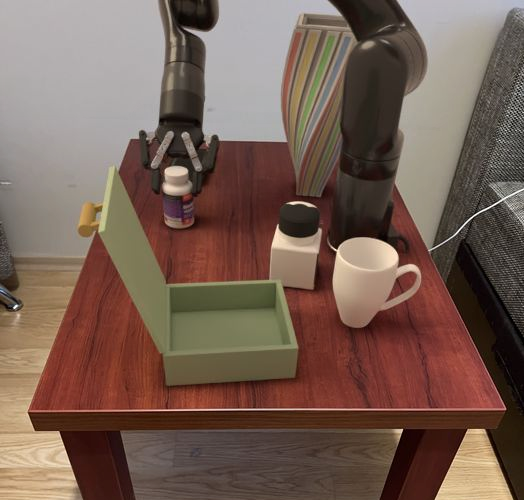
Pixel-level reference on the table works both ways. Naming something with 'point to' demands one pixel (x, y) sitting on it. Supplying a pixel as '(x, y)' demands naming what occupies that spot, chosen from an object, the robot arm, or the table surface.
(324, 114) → the vase
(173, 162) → the phone
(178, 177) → the pill bottle
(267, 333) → the green open box
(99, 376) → the table surface
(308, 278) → the medicine bottle
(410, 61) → the robot arm
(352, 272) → the mug
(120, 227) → the green box lid
